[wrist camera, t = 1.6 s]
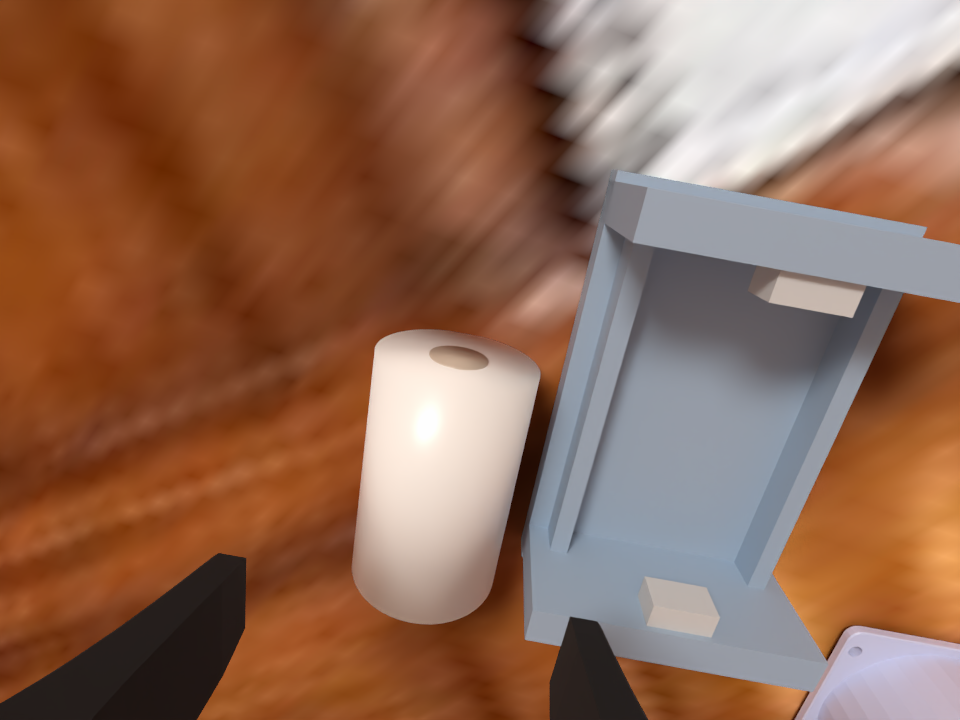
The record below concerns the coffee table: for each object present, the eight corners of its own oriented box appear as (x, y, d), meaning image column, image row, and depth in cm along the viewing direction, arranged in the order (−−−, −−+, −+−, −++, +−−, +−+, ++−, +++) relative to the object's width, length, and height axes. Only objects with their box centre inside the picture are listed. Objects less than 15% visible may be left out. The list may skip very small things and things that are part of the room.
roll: (496, 533, 21) (489, 638, 16) (373, 510, 21) (331, 608, 17) (538, 345, 18) (543, 407, 14) (396, 318, 18) (352, 371, 14)
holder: (743, 579, 21) (808, 698, 16) (521, 539, 21) (522, 646, 16) (903, 223, 16) (1062, 248, 11) (611, 169, 16) (651, 173, 11)
